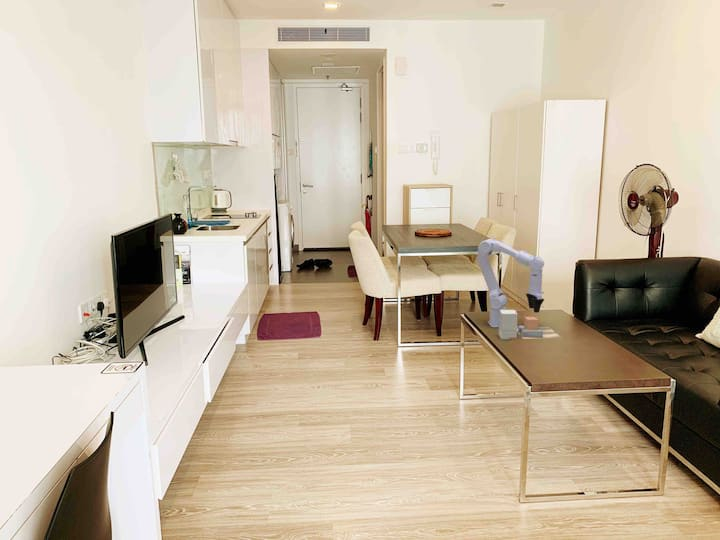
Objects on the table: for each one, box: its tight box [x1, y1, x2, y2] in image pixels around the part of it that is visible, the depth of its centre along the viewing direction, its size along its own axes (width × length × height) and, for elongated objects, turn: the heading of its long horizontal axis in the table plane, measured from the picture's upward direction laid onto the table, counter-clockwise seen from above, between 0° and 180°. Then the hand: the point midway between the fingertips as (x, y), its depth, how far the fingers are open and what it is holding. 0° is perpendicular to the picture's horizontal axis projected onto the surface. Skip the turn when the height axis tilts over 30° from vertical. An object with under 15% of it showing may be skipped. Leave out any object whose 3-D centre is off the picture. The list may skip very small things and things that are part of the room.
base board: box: [517, 325, 563, 340], centre depth 265 cm, size 18×18×4 cm
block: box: [523, 316, 539, 330], centre depth 261 cm, size 5×5×5 cm
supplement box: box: [498, 309, 519, 340], centre depth 260 cm, size 7×7×13 cm
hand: (533, 310), depth 269 cm, fingers open, 7 cm apart
